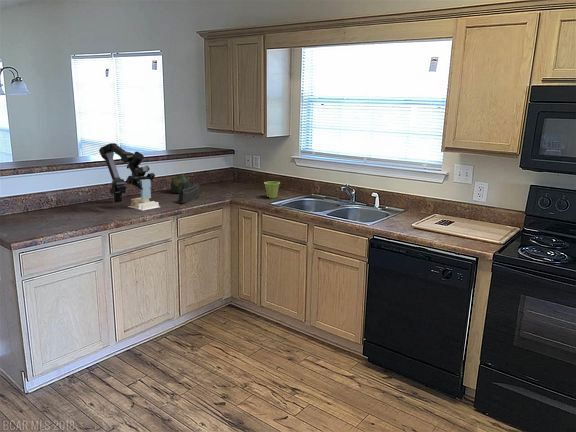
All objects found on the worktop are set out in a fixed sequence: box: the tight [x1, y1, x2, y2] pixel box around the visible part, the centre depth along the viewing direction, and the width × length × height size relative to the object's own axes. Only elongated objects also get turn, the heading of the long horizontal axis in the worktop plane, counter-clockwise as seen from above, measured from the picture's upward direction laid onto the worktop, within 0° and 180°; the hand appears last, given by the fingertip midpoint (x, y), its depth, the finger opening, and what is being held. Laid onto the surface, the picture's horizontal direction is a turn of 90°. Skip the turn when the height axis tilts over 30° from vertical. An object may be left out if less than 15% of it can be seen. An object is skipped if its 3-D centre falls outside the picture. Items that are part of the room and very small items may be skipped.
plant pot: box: [263, 181, 281, 199], centre depth 336 cm, size 12×12×11 cm
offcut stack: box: [130, 197, 151, 208], centre depth 293 cm, size 7×10×4 cm
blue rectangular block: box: [139, 179, 152, 200], centre depth 287 cm, size 2×6×12 cm, turn 143°
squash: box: [170, 173, 191, 194], centre depth 345 cm, size 14×15×15 cm
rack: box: [127, 200, 161, 211], centre depth 291 cm, size 16×14×4 cm
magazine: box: [177, 181, 202, 204], centre depth 319 cm, size 17×3×30 cm
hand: (146, 188), depth 286 cm, fingers closed on blue rectangular block, 6 cm apart
